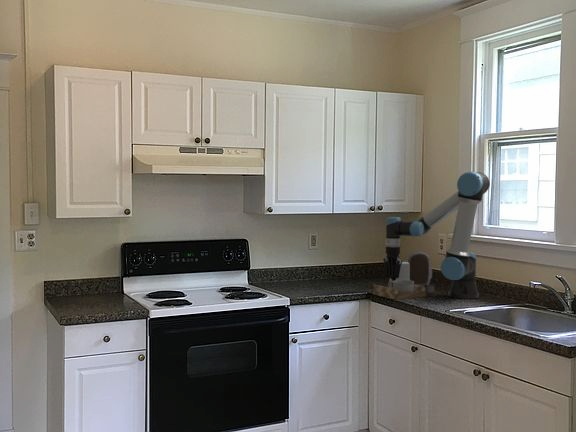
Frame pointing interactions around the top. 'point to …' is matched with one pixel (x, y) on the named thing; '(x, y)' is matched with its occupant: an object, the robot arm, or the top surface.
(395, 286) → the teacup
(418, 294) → the bay
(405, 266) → the supplement box
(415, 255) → the dark brown rounded block
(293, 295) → the top surface
